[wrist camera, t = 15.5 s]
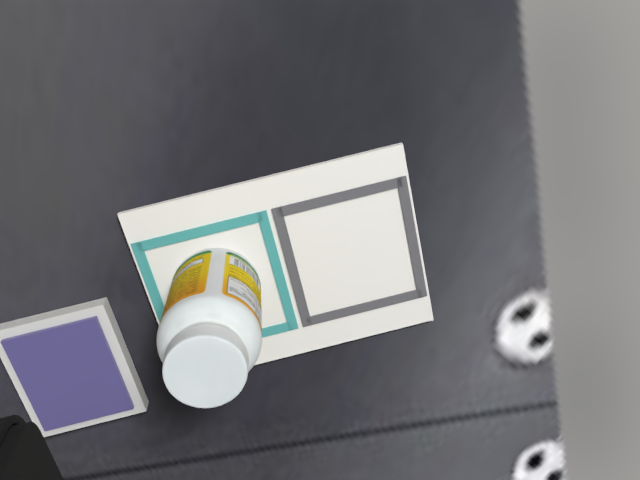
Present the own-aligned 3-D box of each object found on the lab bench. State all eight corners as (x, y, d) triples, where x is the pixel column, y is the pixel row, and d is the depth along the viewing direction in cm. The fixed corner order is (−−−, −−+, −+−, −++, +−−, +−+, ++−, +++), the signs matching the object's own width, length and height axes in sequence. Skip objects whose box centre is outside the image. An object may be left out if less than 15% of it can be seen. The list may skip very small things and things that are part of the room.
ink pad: (-6, 325, 38) (-14, 335, 36) (106, 297, 38) (101, 307, 36) (45, 428, 41) (39, 441, 39) (148, 401, 41) (145, 414, 39)
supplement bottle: (265, 249, 37) (270, 327, 28) (256, 326, 39) (258, 423, 30) (174, 241, 36) (149, 319, 27) (169, 321, 38) (145, 418, 29)
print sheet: (118, 212, 36) (116, 215, 35) (401, 142, 36) (403, 144, 36) (181, 380, 40) (180, 384, 40) (431, 317, 41) (433, 320, 40)
